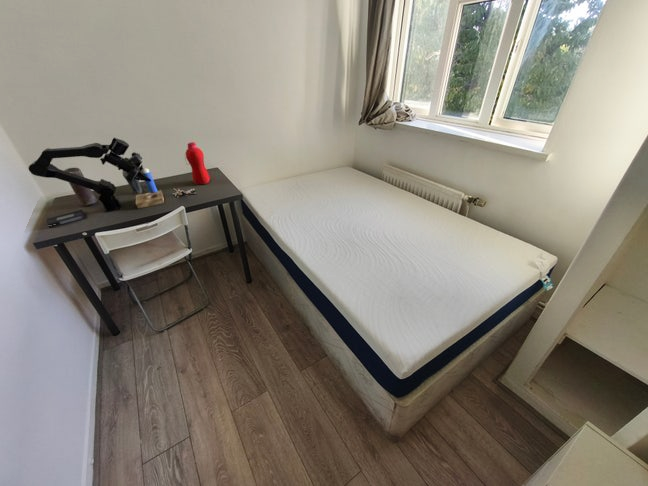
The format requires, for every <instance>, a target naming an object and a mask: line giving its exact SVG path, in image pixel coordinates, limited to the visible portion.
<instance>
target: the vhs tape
mask: <svg viewBox="0 0 648 486" xmlns="http://www.w3.org/2000/svg"><path fill="white" fill-rule="evenodd" d="M83 219H86V218H85V212H84V211H83V209H79V210H75V211H71V212H67V213H64V214H59V215H55V216H52V217H49V218H47V220H46V221H47V222H46V225H47V226H48V225H52V226H48V228H49V229H51V228H55V227H58V226H62V225H67V224H70V223H72V222H75V221H76V222H77V221H80V220H83ZM53 224H56V225H53Z"/></svg>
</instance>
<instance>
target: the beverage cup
mask: <svg viewBox="0 0 648 486" xmlns="http://www.w3.org/2000/svg"><path fill="white" fill-rule="evenodd" d="M127 175H128V174H127V172H125V171H123V170H122V177H123V178H124V179H125V181H126V182H127V184H128V185H129V188H130V189H131V190H132V192H133V194H134V195H140V194H143V188H142V185H141V182H140V180H132V181H131V182H130V181H128V180H127V179H126V176H127ZM133 179H134V178H133Z"/></svg>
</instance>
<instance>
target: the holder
mask: <svg viewBox="0 0 648 486" xmlns="http://www.w3.org/2000/svg"><path fill="white" fill-rule="evenodd" d="M161 204H165V198H164V193H163V191H162V190H161V189H160V190H157V192H155V193H150V192H146V193H139V194H135V205H136V208H137V209H143V208H148V207H152V206H156V205H161Z"/></svg>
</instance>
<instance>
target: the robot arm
mask: <svg viewBox="0 0 648 486" xmlns="http://www.w3.org/2000/svg"><path fill="white" fill-rule="evenodd" d="M129 147H130V144H129V143H128V142H126V141H125V140H123V139H119V138H117V137H113V138H112V139H111V142H110V144H101V143H99V142H93V143H89V144H85V145H82V146H76V147H75V146H73V147H72V146H71V147H58V148H45V149H44V150H42V152H41V154H40V155H39V157H38V158H37V159H36V160H34V161H33V162H32V163H31V164H30V165H29V166H28V171H29V173H30V174H31V175H33V176H35V177H41V178H50V179H57V180H61V181H64V182H67V183H69V182H70V183H73V184H76V185H80V186H83V187H86V188H89V189H91V190H92V191H94V192H95V193H96V194H98V195H99V196H98V198H97V200H98V201H99V202H101V204H102V206H103V207H104V209H105V211H104V212H106V213H107V212H112V211H116V210H120V209H121V202H120V200H119V198H118V197H116V195H115V193H116V190H117V187H116V186H115V184H114V183H112V182H111V181H108V180H106V179H103V178H101V179H100V180H94V179H91V178H87V177H85V176H84V177H82V176H79V175H75V174H72V173H69V172H66V171H64V170H63V169H60V168H58V167H57V166H55V165H54V164H52V161H53V159H64V158H79V157H85V158H92V159H99V161H100V162H101V164H102V165H104V166H105V164H106V163H108V164H110V165H111V166H113V167H116V168H117V170H119V171H121V170H122V172H123V171H125V172H127V174H128V175H127V176H126V179H127V180H128V181H130V182H131V181H132V180H139V181H142V182H145V181H151V179H150V178H148V177H147V176H145V175H144V174H142V173H141V170H142V169H143V168H144V166H143V164H142V163H143V161H142V160H143V157H142V156H141V154H140V153H138V152H136V151H133V152H132V153H131V157H129V158H128V157H123V156H124V155H125V154H126V153H127V151H128V149H129ZM133 178H134V179H133ZM126 179H125V180H126ZM127 180H126V181H127Z"/></svg>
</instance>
